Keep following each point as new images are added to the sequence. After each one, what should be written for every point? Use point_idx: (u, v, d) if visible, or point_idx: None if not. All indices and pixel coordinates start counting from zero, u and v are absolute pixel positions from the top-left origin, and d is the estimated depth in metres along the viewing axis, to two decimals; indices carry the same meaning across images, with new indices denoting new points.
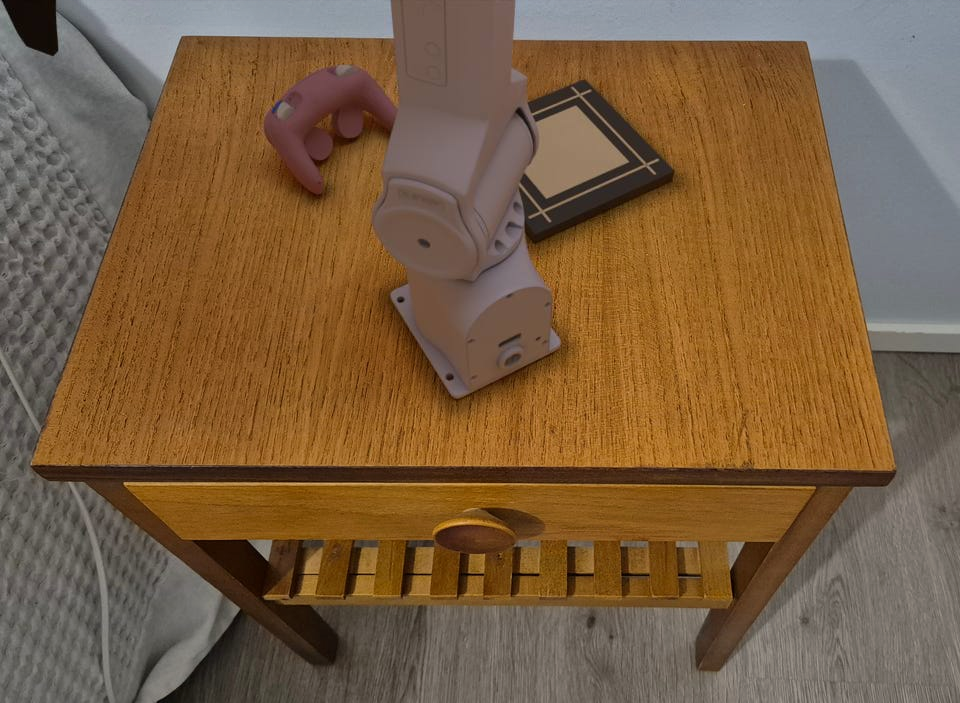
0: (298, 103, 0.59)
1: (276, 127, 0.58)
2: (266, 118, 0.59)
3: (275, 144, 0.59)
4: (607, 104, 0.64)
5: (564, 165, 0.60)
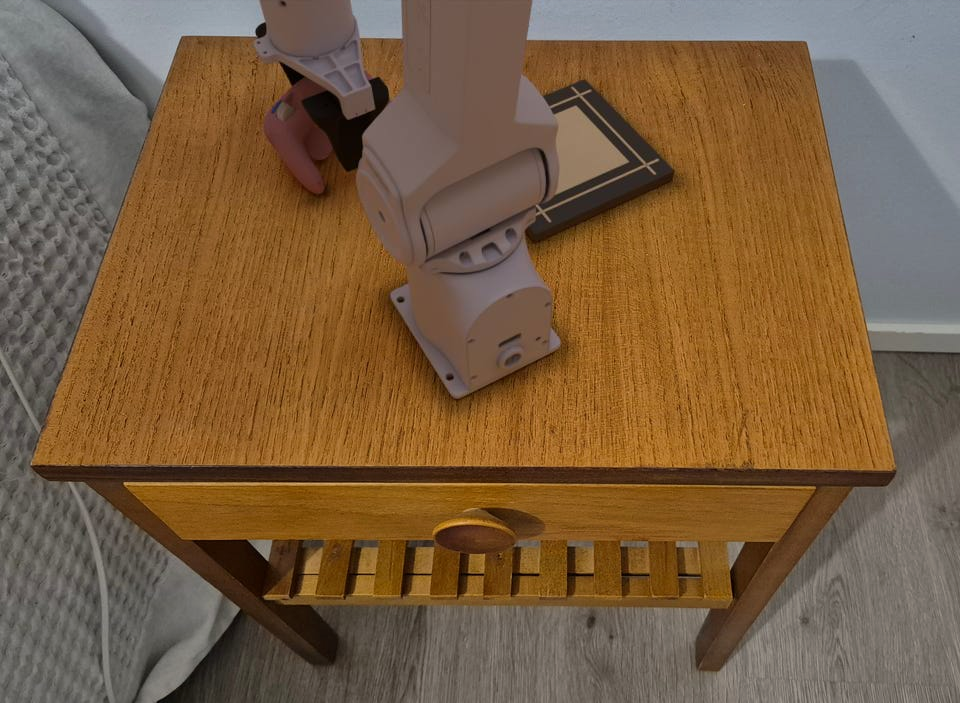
0: (298, 103, 0.59)
1: (276, 127, 0.58)
2: (266, 118, 0.59)
3: (275, 144, 0.59)
4: (607, 104, 0.64)
5: (564, 165, 0.60)
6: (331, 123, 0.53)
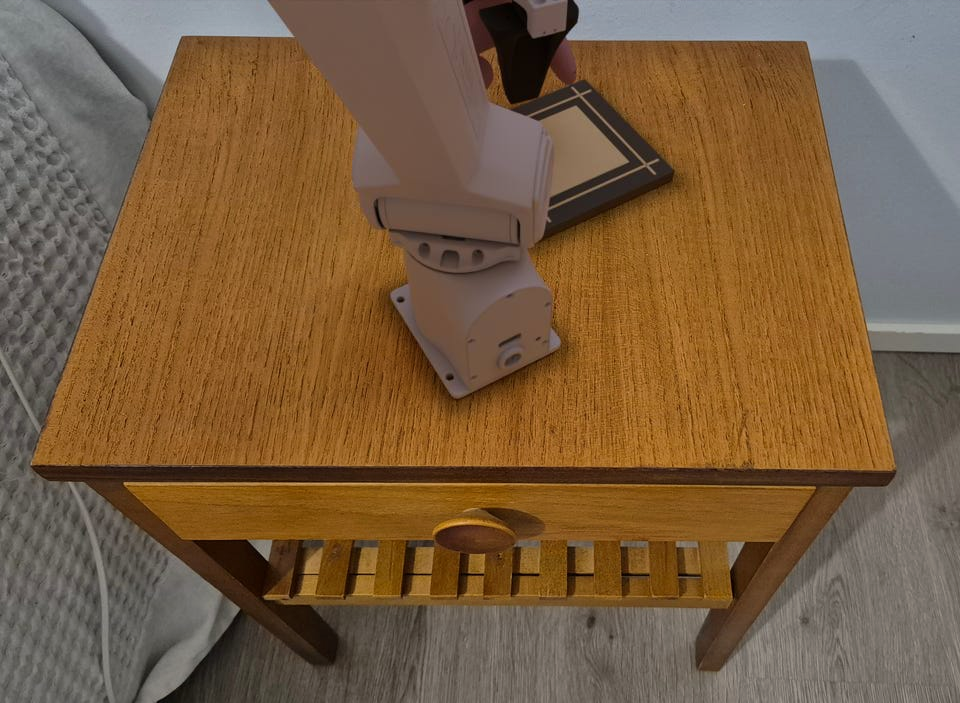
0: (468, 24, 0.52)
1: None
2: None
3: None
4: (607, 104, 0.64)
5: (564, 165, 0.60)
6: (509, 39, 0.47)
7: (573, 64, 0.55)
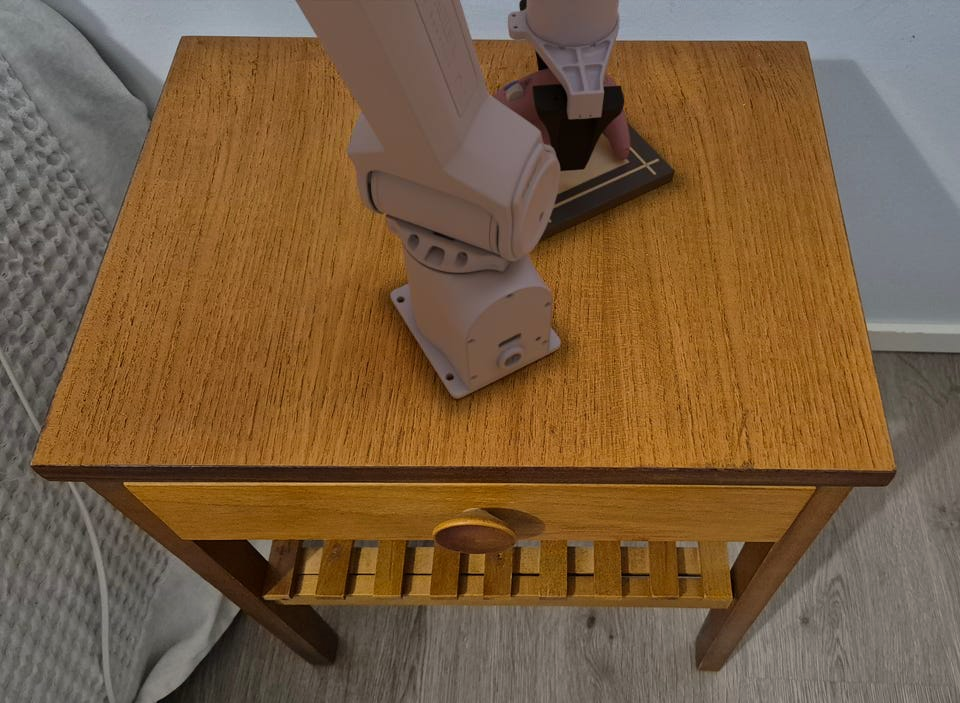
0: (531, 90, 0.57)
1: None
2: (497, 92, 0.58)
3: None
4: None
5: None
6: (552, 118, 0.50)
7: (626, 142, 0.58)
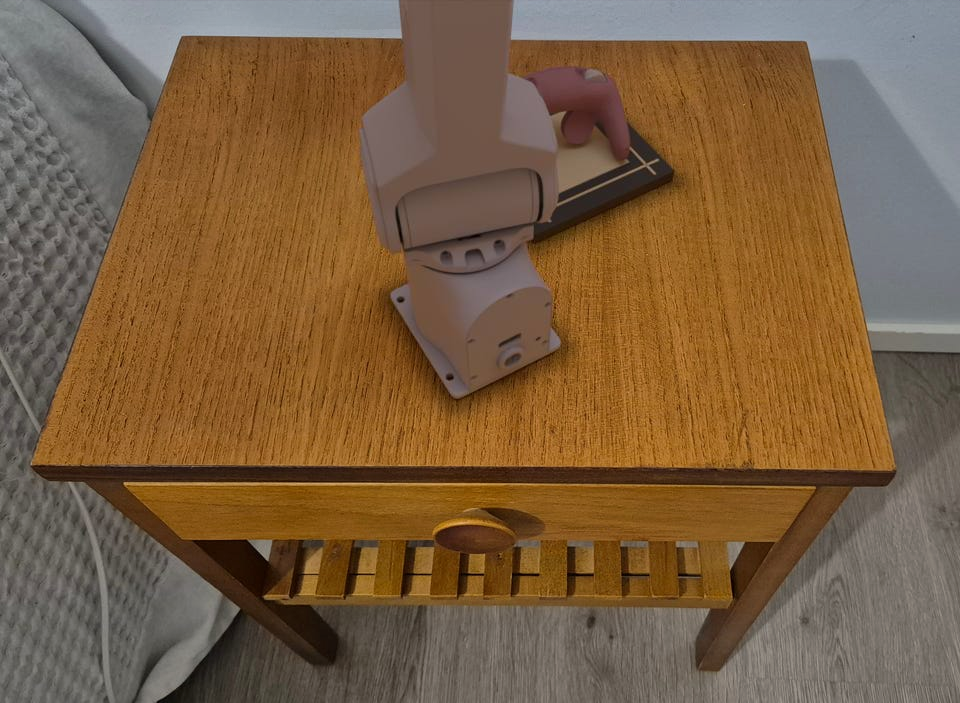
0: None
1: None
2: None
3: None
4: None
5: (564, 165, 0.60)
6: None
7: (626, 142, 0.58)
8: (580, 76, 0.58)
